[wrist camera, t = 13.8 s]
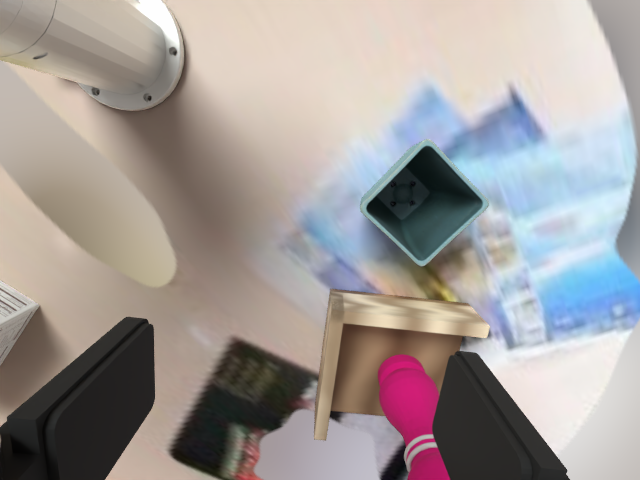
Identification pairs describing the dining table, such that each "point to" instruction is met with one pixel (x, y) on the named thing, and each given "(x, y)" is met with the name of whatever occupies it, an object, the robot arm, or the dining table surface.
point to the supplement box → (13, 316)
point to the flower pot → (423, 202)
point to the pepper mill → (412, 414)
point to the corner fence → (387, 316)
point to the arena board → (374, 348)
